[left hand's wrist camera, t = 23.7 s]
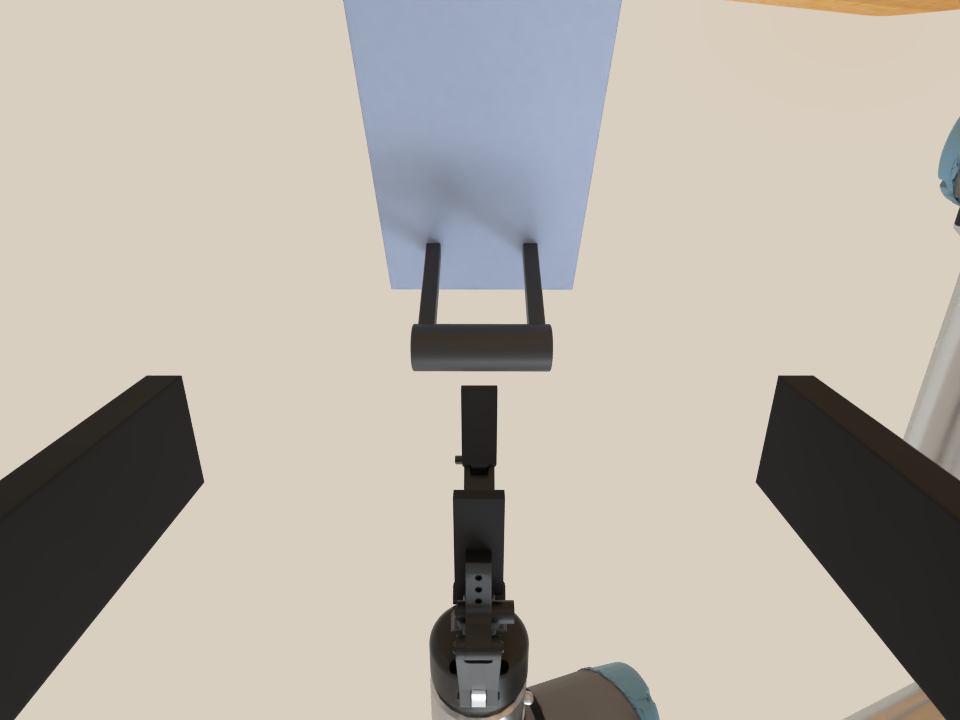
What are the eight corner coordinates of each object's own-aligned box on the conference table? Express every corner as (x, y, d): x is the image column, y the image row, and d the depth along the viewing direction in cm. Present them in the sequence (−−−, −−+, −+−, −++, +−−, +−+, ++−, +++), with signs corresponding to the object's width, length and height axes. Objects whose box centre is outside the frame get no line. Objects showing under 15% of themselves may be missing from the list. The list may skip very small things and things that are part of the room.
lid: (570, 276, 30) (589, 405, 25) (393, 276, 30) (374, 404, 25) (626, -64, 19) (684, 39, 13) (339, -65, 19) (280, 39, 13)
